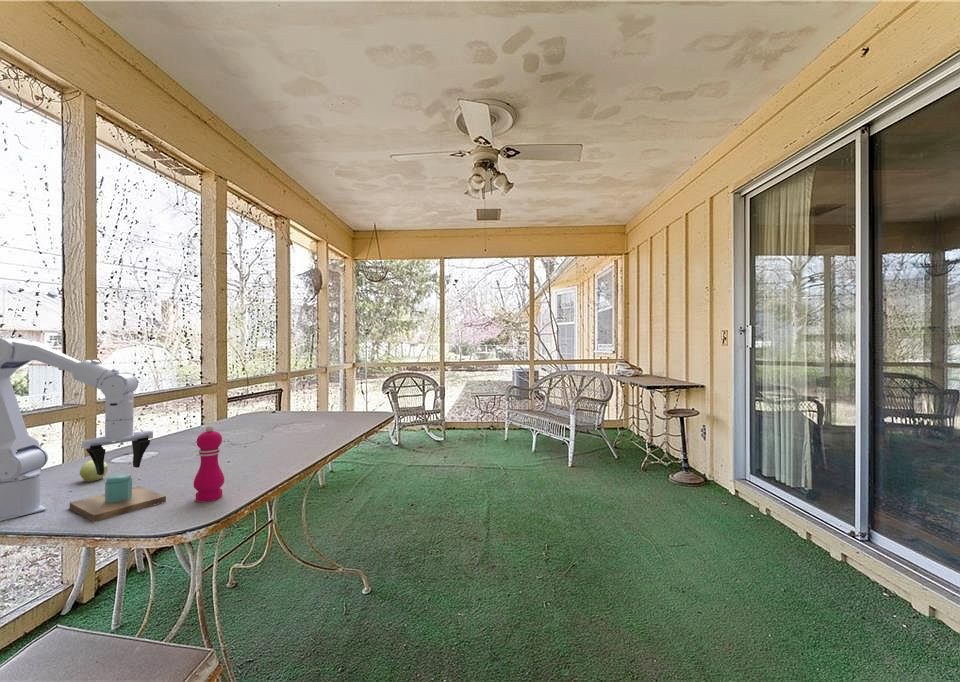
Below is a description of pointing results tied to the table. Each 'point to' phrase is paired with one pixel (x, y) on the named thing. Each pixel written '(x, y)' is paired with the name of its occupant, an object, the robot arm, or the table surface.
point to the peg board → (116, 504)
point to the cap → (118, 488)
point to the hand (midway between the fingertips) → (118, 470)
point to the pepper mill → (209, 467)
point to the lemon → (91, 471)
